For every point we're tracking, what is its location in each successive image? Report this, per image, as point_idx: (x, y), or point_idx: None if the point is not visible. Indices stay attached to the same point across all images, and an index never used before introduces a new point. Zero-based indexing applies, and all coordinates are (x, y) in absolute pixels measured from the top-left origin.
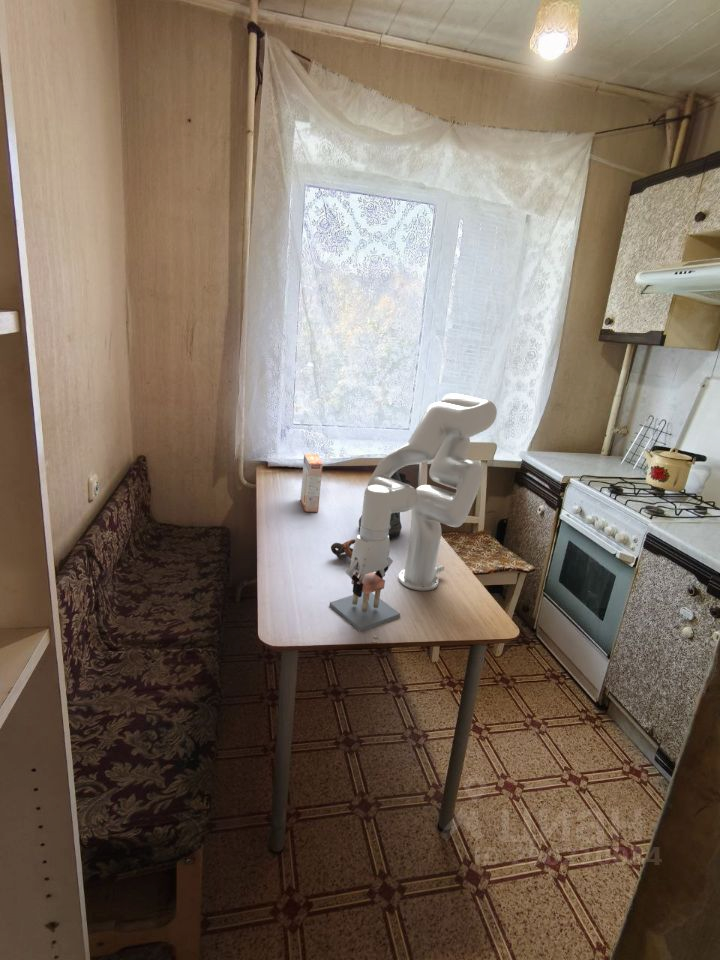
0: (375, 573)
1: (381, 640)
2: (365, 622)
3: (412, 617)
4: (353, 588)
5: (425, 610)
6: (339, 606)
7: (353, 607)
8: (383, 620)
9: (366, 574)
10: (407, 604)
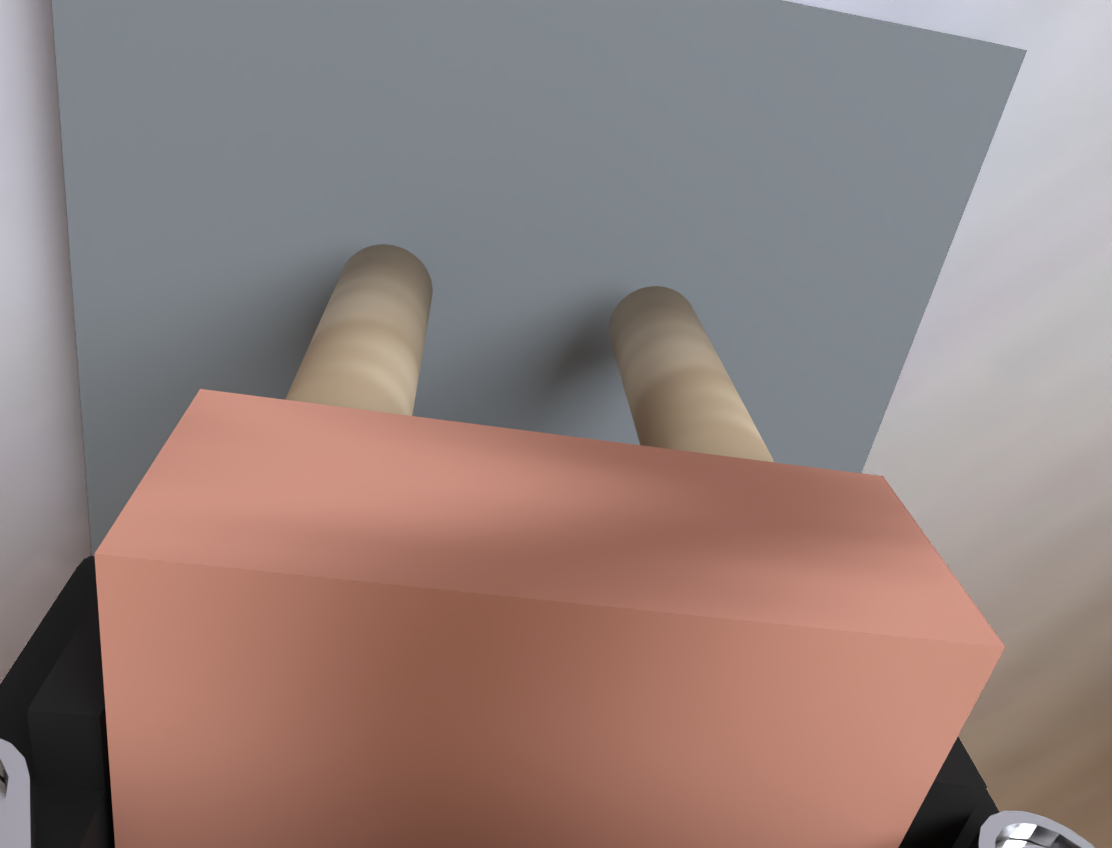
0: (944, 814)
1: None
2: None
3: None
4: (57, 618)
5: (1071, 755)
6: (148, 103)
7: None
8: None
9: (647, 748)
10: (1068, 592)
